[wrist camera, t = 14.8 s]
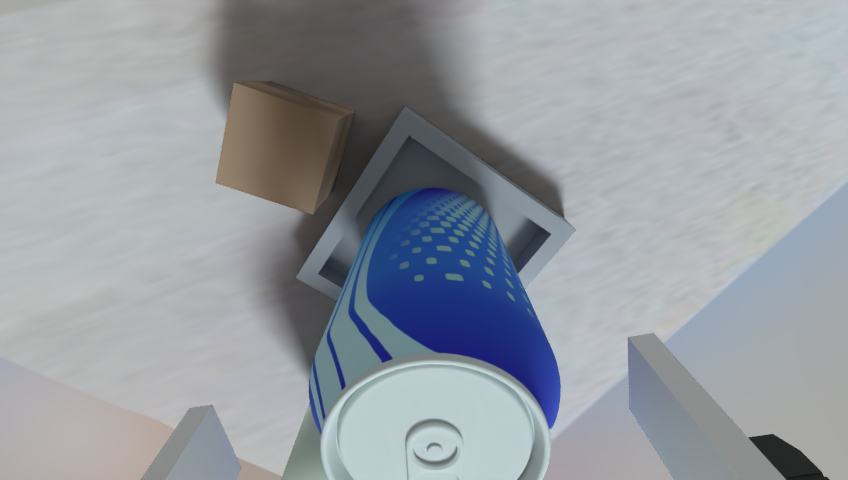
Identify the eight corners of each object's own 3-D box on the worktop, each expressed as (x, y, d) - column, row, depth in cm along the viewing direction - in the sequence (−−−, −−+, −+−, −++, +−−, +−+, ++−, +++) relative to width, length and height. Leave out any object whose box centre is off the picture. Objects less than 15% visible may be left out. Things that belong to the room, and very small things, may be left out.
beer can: (339, 258, 28) (232, 474, 13) (418, 153, 25) (403, 265, 10) (442, 327, 29) (457, 590, 14) (526, 235, 27) (648, 435, 12)
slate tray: (305, 263, 28) (295, 277, 26) (405, 105, 25) (403, 108, 23) (453, 350, 31) (455, 370, 29) (564, 218, 27) (576, 230, 25)
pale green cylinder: (299, 398, 32) (254, 510, 24) (354, 321, 30) (325, 417, 21) (389, 444, 34) (376, 566, 25) (448, 376, 31) (455, 485, 23)
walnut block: (253, 164, 26) (215, 182, 21) (271, 81, 24) (233, 82, 20) (333, 190, 27) (312, 214, 22) (355, 111, 25) (338, 119, 20)
